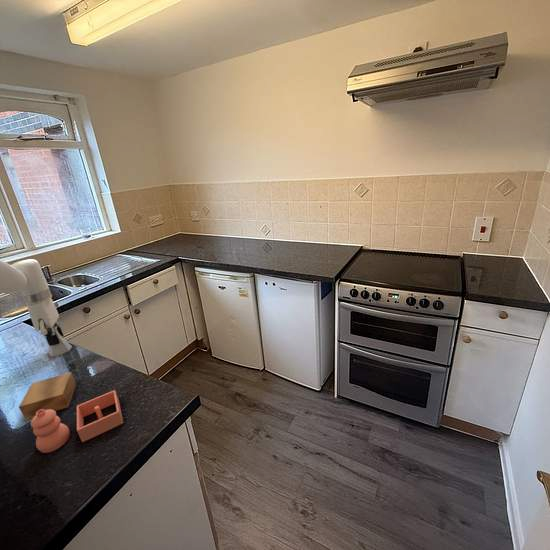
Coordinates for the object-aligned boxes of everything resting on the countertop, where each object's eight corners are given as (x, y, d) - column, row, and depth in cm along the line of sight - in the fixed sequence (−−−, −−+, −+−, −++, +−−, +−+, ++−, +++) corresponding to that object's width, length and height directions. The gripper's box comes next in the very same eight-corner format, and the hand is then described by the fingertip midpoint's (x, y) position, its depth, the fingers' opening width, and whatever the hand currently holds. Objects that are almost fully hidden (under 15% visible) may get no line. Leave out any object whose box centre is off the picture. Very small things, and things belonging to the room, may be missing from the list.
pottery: (119, 401, 83) (108, 373, 79) (123, 424, 75) (112, 393, 72) (41, 435, 74) (25, 405, 71) (37, 465, 67) (19, 433, 63)
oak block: (26, 421, 79) (18, 407, 78) (38, 396, 88) (32, 383, 86) (68, 408, 82) (62, 394, 81) (76, 385, 91) (71, 372, 89)
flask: (49, 360, 105) (38, 336, 102) (50, 350, 111) (39, 327, 108) (72, 351, 109) (63, 328, 105) (72, 343, 115) (63, 320, 111)
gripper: (33, 289, 108) (51, 332, 115) (14, 308, 93) (36, 356, 100) (57, 284, 110) (73, 327, 117) (42, 302, 96) (62, 350, 102)
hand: (56, 340), depth 108 cm, fingers open, 4 cm apart
